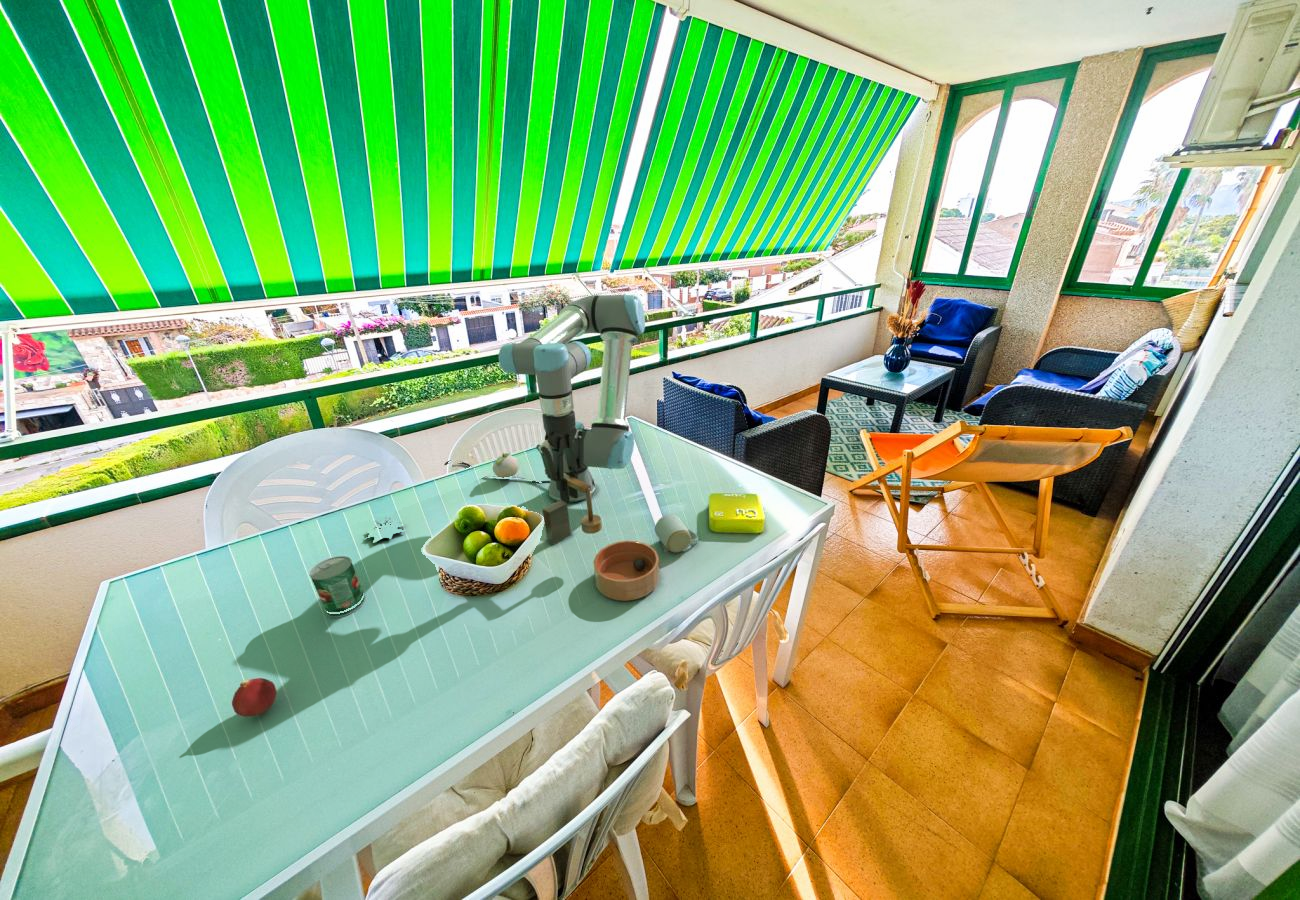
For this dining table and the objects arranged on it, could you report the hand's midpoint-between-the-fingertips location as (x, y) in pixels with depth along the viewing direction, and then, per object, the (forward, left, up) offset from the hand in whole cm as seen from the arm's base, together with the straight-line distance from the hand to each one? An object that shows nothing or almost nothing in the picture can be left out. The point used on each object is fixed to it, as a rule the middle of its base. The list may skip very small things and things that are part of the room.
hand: (569, 498), depth 117 cm
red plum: (-5, -67, -15) cm, 69 cm away
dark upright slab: (-7, 0, -15) cm, 17 cm away
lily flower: (-48, -31, -15) cm, 59 cm away
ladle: (+1, 0, -6) cm, 6 cm away
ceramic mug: (+20, +19, -15) cm, 31 cm away
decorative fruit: (-50, +10, -15) cm, 53 cm away
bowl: (+20, 0, -15) cm, 25 cm away
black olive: (+20, +4, -13) cm, 24 cm away
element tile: (+25, +39, -15) cm, 49 cm away
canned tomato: (-24, -49, -15) cm, 56 cm away
